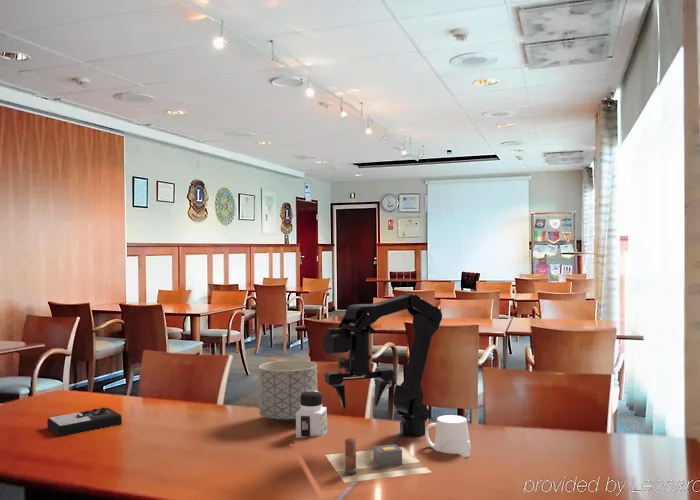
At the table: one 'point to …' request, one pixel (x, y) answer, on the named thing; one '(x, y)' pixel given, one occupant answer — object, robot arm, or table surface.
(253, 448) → the table surface
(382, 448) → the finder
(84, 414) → the multimeter
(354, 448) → the brown cylinder
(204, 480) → the table surface
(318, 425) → the container
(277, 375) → the planter
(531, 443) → the table surface
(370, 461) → the board
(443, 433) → the mug
